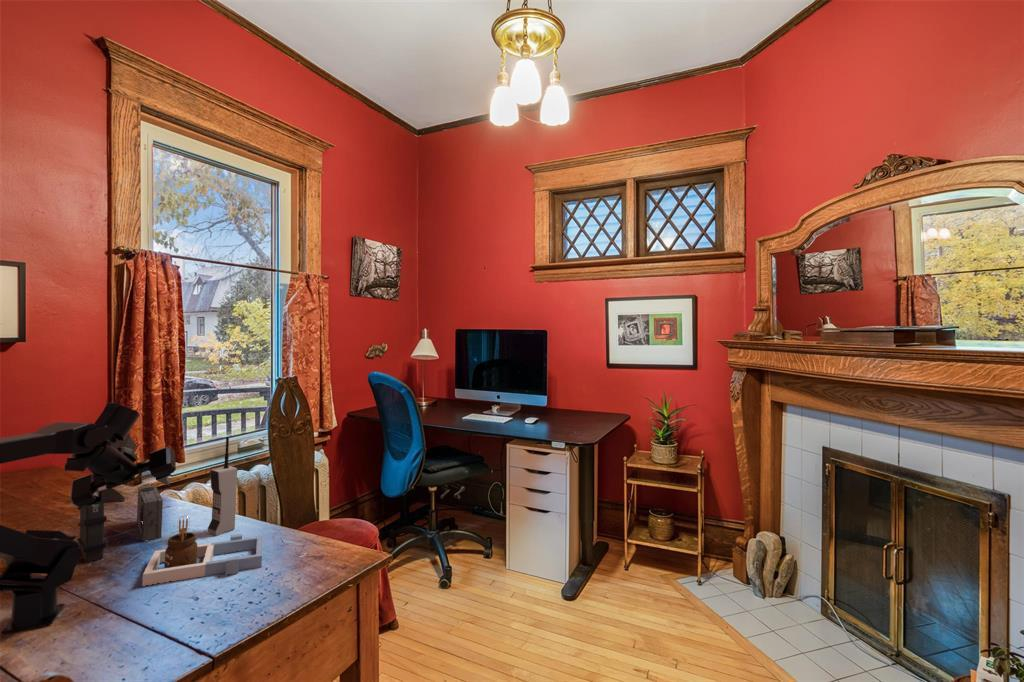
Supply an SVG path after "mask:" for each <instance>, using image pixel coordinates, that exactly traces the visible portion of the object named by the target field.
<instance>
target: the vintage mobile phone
mask: <svg viewBox="0 0 1024 682" xmlns="http://www.w3.org/2000/svg"><path fill="white" fill-rule="evenodd" d="M225 438H226V439H225V454H224V466H221V467H217V468H212V469H210V470H209V472H210V488H211V490H212V506H211V521H210V523H209V525H208V527H207V533H209V534H210V535H214V536H219V535H222V534H225V533H228V532H231V531H233V530H235V527H236V510H237V509H236V507H237V484H238V483H237V482H238V468H237V467H234V466H231V465H229V456H230V455H229V443H230V442H229V441H230V437H229V436H227V437H225Z"/></svg>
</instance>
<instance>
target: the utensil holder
mask: <svg viewBox="0 0 1024 682" xmlns="http://www.w3.org/2000/svg"><path fill="white" fill-rule="evenodd" d="M182 517H183V519H182V520H181V518H182ZM185 517H186V519H185ZM176 524H178V529H177V530H176V531H177V533H176V534H174V535H172V536H169V538H168V539H167V543H166V545H167V547H166V551H165V562H164V569H165V568H171V567H178V566H184V565H191V564H197V563H198V558H197V550H198V547H197V545H198V543H197V535H196V534H195V533H194V532H189V530H190V524H191V521H190V518H189V516H187V515H185V516H184V515H182V516H181V517H179V518H178V520H177V523H176ZM181 525H182V526H181Z"/></svg>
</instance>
